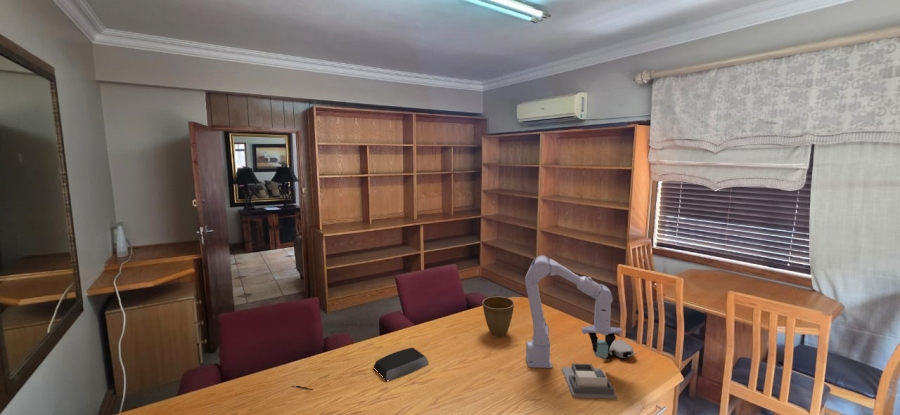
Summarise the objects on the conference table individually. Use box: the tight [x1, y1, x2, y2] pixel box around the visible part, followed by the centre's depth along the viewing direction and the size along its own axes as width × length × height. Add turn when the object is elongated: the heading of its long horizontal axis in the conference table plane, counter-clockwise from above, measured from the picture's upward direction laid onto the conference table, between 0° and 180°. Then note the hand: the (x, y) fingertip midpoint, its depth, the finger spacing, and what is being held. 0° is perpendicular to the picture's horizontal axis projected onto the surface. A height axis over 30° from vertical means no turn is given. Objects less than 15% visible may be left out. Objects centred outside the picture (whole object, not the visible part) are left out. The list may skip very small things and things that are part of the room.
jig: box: [561, 362, 618, 400], centre depth 136 cm, size 15×17×3 cm
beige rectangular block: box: [575, 370, 608, 388], centre depth 132 cm, size 10×4×5 cm, turn 86°
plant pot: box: [482, 296, 515, 339], centre depth 174 cm, size 15×15×16 cm
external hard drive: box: [373, 347, 429, 381], centre depth 149 cm, size 13×19×4 cm
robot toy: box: [601, 338, 638, 360], centre depth 156 cm, size 12×4×15 cm
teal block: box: [593, 339, 608, 358], centre depth 143 cm, size 4×4×5 cm
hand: (600, 350), depth 143 cm, fingers closed on teal block, 4 cm apart
